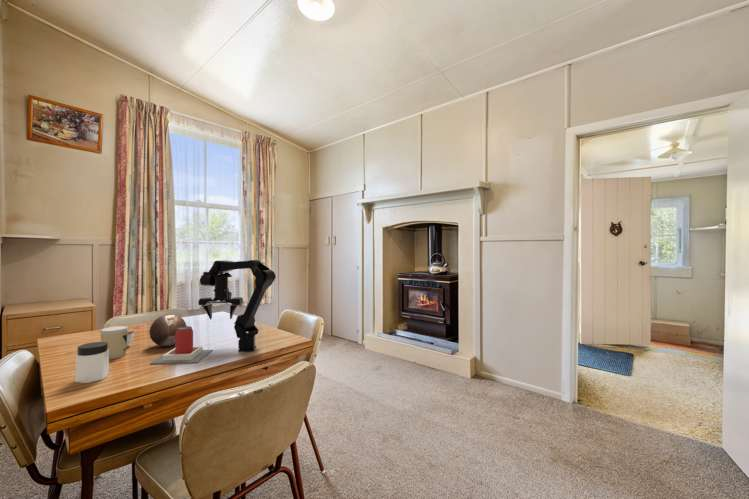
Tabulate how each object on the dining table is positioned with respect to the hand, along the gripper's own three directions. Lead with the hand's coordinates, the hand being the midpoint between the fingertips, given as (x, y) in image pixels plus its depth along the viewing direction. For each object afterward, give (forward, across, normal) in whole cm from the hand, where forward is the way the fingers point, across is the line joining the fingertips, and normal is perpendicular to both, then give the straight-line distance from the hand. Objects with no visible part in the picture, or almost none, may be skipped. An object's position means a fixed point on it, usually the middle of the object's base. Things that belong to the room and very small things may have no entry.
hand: (220, 319), depth 153 cm
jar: (+13, +31, +36) cm, 49 cm away
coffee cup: (+13, +40, +11) cm, 44 cm away
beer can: (+13, +10, +15) cm, 22 cm away
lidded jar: (+13, +46, -2) cm, 48 cm away
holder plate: (+13, +10, +15) cm, 22 cm away
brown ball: (+13, +25, -3) cm, 28 cm away
